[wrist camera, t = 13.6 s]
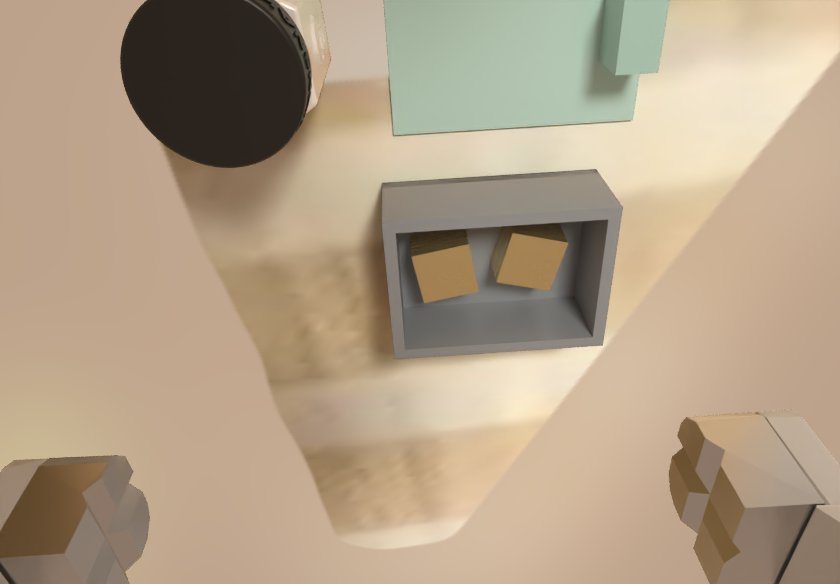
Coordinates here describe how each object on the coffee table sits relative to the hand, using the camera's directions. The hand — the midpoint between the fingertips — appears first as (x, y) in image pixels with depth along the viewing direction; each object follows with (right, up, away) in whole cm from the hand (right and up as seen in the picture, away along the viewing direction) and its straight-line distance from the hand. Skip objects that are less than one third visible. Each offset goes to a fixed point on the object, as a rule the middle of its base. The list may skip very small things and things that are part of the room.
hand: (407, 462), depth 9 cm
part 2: (+8, +6, +36) cm, 38 cm away
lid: (+6, +19, +29) cm, 36 cm away
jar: (-9, +19, +28) cm, 35 cm away
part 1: (+2, +5, +37) cm, 37 cm away
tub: (+5, +6, +37) cm, 38 cm away
